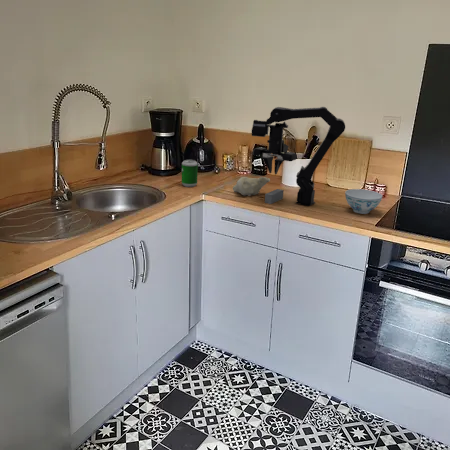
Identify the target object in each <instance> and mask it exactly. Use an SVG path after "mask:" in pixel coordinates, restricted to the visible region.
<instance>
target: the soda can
mask: <svg viewBox="0 0 450 450" xmlns="http://www.w3.org/2000/svg"><path fill="white" fill-rule="evenodd" d="M198 167H199V165H198V162H197V161H196V160H195V159H184V160H183V161H182V162H181V184H182V185H183V186H184V187H186V188H193V187H196V186H197V185H198V170H199V169H198Z"/></svg>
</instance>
